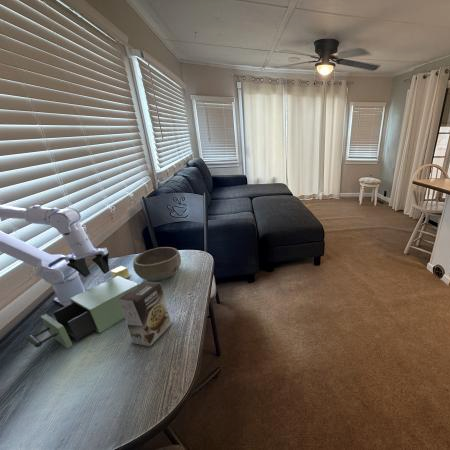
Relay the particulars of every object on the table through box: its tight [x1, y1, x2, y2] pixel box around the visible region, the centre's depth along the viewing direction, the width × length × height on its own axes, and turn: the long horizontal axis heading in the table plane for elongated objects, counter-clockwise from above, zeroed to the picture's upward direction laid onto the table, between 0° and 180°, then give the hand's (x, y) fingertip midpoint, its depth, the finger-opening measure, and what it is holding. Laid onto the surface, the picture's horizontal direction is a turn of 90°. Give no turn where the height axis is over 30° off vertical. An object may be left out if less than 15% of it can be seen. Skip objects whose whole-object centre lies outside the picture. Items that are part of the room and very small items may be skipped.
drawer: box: [26, 302, 97, 349], centre depth 73 cm, size 18×11×7 cm, turn 154°
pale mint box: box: [70, 276, 140, 333], centre depth 82 cm, size 15×13×9 cm
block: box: [110, 265, 131, 279], centre depth 103 cm, size 4×4×4 cm
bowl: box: [132, 246, 182, 282], centre depth 104 cm, size 17×18×10 cm
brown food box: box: [119, 280, 172, 347], centre depth 72 cm, size 9×6×16 cm
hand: (97, 273), depth 90 cm, fingers open, 7 cm apart
